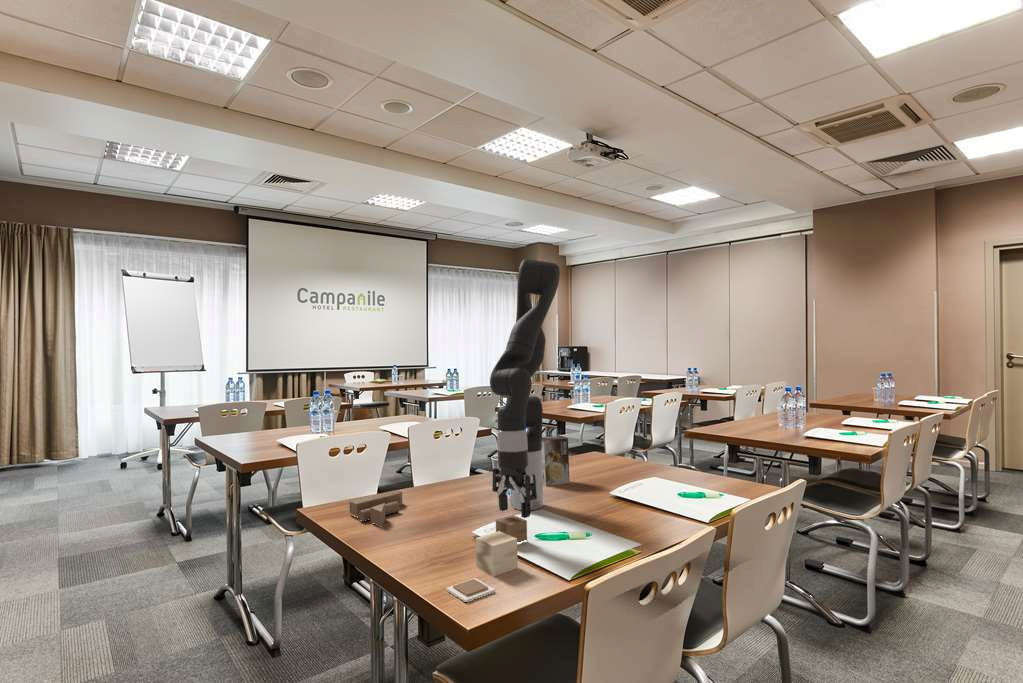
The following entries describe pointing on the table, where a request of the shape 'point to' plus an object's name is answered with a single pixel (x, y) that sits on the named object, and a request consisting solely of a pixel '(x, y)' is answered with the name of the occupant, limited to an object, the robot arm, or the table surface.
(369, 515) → the wooden block set
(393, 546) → the table surface
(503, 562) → the beech cube
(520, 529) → the walnut cube
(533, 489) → the robot arm
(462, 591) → the walnut tile
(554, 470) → the coffee box
